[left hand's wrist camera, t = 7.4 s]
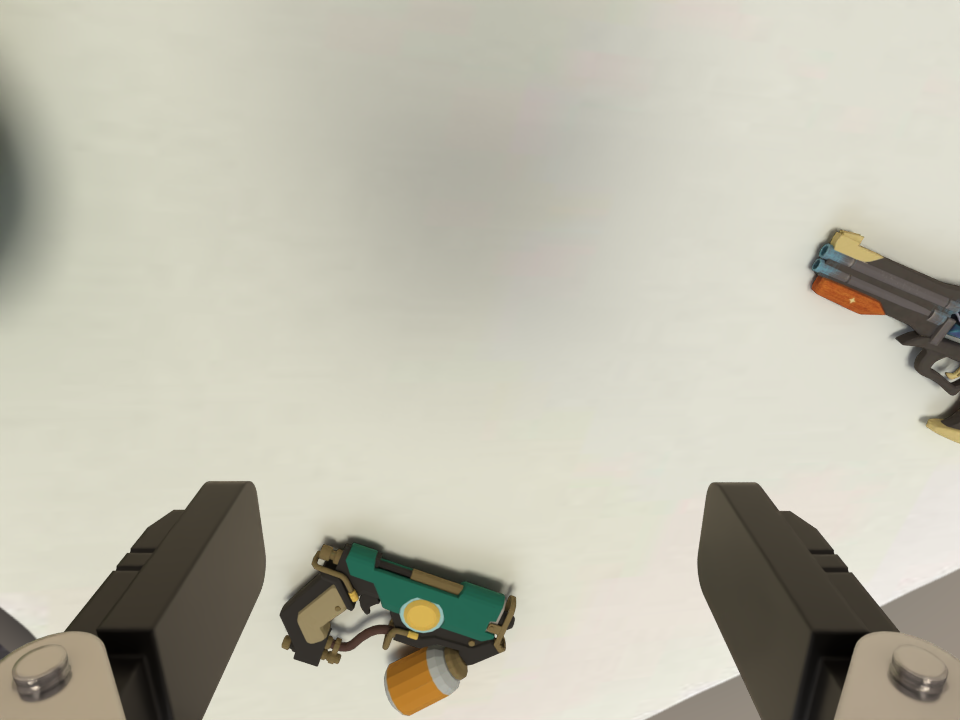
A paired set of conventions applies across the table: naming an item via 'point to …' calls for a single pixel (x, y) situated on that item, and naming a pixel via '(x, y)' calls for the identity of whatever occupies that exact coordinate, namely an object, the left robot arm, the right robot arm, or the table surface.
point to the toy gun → (896, 307)
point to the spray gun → (399, 621)
